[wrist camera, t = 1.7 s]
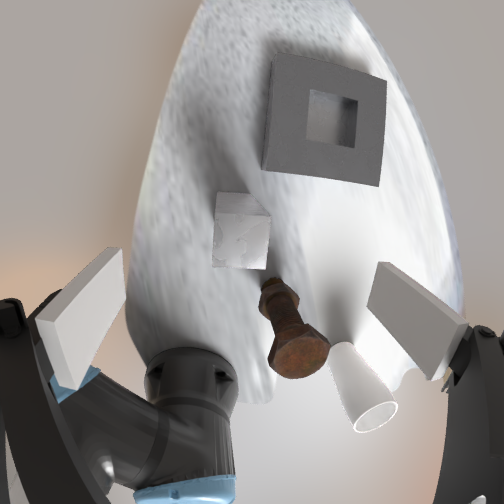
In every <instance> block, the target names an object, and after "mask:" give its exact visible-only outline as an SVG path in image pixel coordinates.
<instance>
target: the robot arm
mask: <svg viewBox="0 0 504 504" xmlns="http://www.w3.org/2000/svg"><path fill="white" fill-rule="evenodd" d="M125 300H126V292H125V282H124V271H123V257H122V248H113V247H108V248H106V249H105V250H104V251H103V252H102V253H101V254H100V255H99V256H98V257H97V258H95V259H94V260H93V261H92V262H91V263H90V264H89V265H88V266H87V267H86V268H84V270H82V271H81V272H80V273H79V274H78V275H77V276H76V277H75V278H74V279H73V280H72V281H71V282H70V283H69V284H68V285H67V286H66V287H65V288H64V289H60V290H58V291H56V292H54V293H52V294H50V295H49V296H48V297H47V298H46V299H45V300H44V302H42V303H41V304H40V305H39V307H37V308H36V309H35V310H34V311H33V312H32V313H31V314H30V315H29V317H28V318H27V319H26V316H25V312H24V309H23V305H22V303H21V301H20V300H18V299H15V298H8V299H3V300H0V504H111V503H110V502H109V500H108V498H107V497H106V496H107V495H108V493H109V491H110V489H111V486H112V484H113V483H114V482H115V483H118V484H121V485H123V486H125V487H128V488H131V489H133V490H134V491H135V492H134V493H133V497H134V499H135V502H136V503H137V504H232V503H233V501H234V500H235V480H236V476H235V468H234V459H233V450H232V441H231V432H230V421H229V420H230V417H231V414H232V411H233V408H234V406H235V403H236V400H237V397H238V379H237V375H236V373H235V371H234V369H233V368H232V366H231V365H230V364H229V363H228V362H227V361H226V360H224V359H223V358H221V357H220V356H218V355H216V354H214V353H212V352H209V351H206V350H202V349H197V348H174V349H170V350H167V351H164V352H162V353H160V354H158V355H157V356H156V357H154V358H153V359H152V360H151V362H150V363H149V365H148V367H147V371H146V374H145V379H144V386H145V392H146V398H147V401H146V400H145V399H143V398H141V397H139V396H138V395H136V394H134V393H133V392H131V391H129V390H128V389H126V388H125V387H123V386H121V385H120V384H118V383H117V382H115V381H114V380H112V379H111V378H109V377H107V376H106V375H105V374H103V373H102V372H100V371H101V370H100V369H99V368H95V367H93V366H91V365H90V363H91V362H92V360H93V358H94V356H95V354H96V352H97V350H98V349H99V347H100V345H101V343H102V341H103V339H104V337H105V336H106V334H107V332H108V330H109V328H110V326H111V325H112V323H113V321H114V319H115V318H116V316H117V314H118V312H119V311H120V309H121V307H122V305H123V304H124V302H125ZM367 308H368V309H369V310H370V311H371V312H372V313H373V314H374V315H375V317H376V318H377V319H378V320H379V321H380V322H381V323H382V324H383V326H384V327H385V328H386V329H387V330H388V331H389V332H390V334H391V335H392V336H393V337H394V338H395V339H396V341H397V342H398V343H399V344H400V345H401V346H402V348H403V349H404V350H405V351H406V352H407V353H408V355H409V356H410V357H411V358H412V359H413V361H414V362H415V363H416V364H417V365H418V367H419V368H420V369H421V370H422V371H423V373H424V374H425V375H426V376H427V378H428V379H429V380H430V381H434V380H436V379H440V378H442V377H443V376H444V374H445V372H446V370H447V368H448V366H449V367H450V368H451V369H452V372H451V374H450V376H449V378H448V379H447V381H446V383H445V384H444V386H443V388H442V391H441V392H443V391H444V389H445V388H448V390H447V392H446V393H448V394H449V396H448V415H447V427H446V438H445V446H444V452H443V459H442V465H441V470H440V476H439V481H438V485H437V489H436V494H435V498H434V502H433V504H504V331H503V333H502V335H501V337H497V336H496V334H495V332H494V331H492V330H491V329H489V328H488V327H485V326H480V325H477V326H475V327H474V328H472V327H470V326H469V322H468V321H467V320H465V319H464V318H463V317H462V316H460V315H459V314H458V313H457V312H455V311H454V310H453V309H452V308H450V307H449V306H448V305H447V304H445V303H444V302H443V301H441V300H440V299H439V298H438V297H436V296H435V295H434V294H432V293H431V292H430V291H428V290H427V289H426V288H424V287H423V286H422V285H420V284H419V283H418V282H416V281H415V280H414V279H412V278H411V277H409V276H408V275H407V274H405V273H404V272H402V271H401V270H400V269H398V268H397V267H395V266H394V265H393V264H391V263H390V262H378V265H377V269H376V273H375V277H374V281H373V285H372V289H371V292H370V296H369V300H368V303H367ZM5 430H6V433H7V438H8V442H9V446H10V449H11V453H12V457H13V460H14V463H15V467H16V470H17V471H16V474H15V476H14V479H13V482H12V485H11V487H10V490H8V481H7V470H6V452H5V451H6V449H5Z"/></svg>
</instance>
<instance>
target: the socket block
mask: <svg viewBox="0 0 504 504" xmlns="http://www.w3.org/2000/svg"><path fill="white" fill-rule="evenodd" d="M386 95H387V81H386V80H383V79H380V78H377V77H375V76H372V75H369V74H366V73H363V72H359V71H356V70H353V69H350V68H346V67H343V66H339V65H335V64H331V63H328V62H324V61H319V60H315V59H311V58H306V57H301V56H296V55H291V54H285V53H279V52H277V54H276V56H275V57H274V59H273V61H272V65H271V76H270V86H269V97H268V107H267V117H266V128H265V138H264V148H263V158H262V169H261V170H265V171H273V172H282V173H291V174H299V175H307V176H314V177H321V178H328V179H335V180H341V181H347V182H353V183H359V184H365V185H370V186H376V187H379V181H380V174H381V165H382V156H383V145H384V133H385V119H386Z"/></svg>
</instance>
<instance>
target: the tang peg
mask: <svg viewBox="0 0 504 504" xmlns="http://www.w3.org/2000/svg"><path fill="white" fill-rule="evenodd" d="M270 226H271V216H270V215H269V214H268V212H267V211H266V210H265V209H264V208H263V207H262V206H261V205H260V204H259V202H258V201H257V200H256V199H255V198H254V197H253V196H252V195H251V194H247V193H233V192H218V191H217V197H216V207H215V219H214V236H213V255H212V267H226V268H247V269H266V261H267V252H268V244H269V235H270Z"/></svg>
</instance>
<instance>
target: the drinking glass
mask: <svg viewBox="0 0 504 504" xmlns="http://www.w3.org/2000/svg"><path fill="white" fill-rule="evenodd" d="M326 363H327V365H328V367H329V369H330V372H331V375H332V377H333V380H334V383H335V386H336V389H337V391H338V394H339V397H340V400H341V403H342V406H343V408H344V411H345V413H346V415H347V417H348V419H349V421H350V423H351V425H352V426H353V428H354V430H355V431H356V432H360V433H361V432H362V433H363V432H369V431H372V430H374V429H377V428H379V427H380V426H382V425H384V424H385V423H386V422H388V421H389V420H390V419H391V418H392V417H393V416H394V414H395V413H396V411H397V409H398V403H397V402H396V400H395V398H394V396H393V395H392V393H391V391H390V390H389V388H388V387H387V386H386V384H385V383H384V382H383V380H382V379H381V378H380V377H379V376H378V375H377V373H376V372H375V371H374V370H373V369H372V368H371V366H370V365H369V364H368V363H367V362H366V361H365V359H364V358H363V357H362V356H361V355H360V353H359V352H358V351H357V349H356V348H355V347H354V345H353V344H351V343H349V342H340V343H337V344H335V345H334V346H332V347H331V348H330V351H329V355H328V358H327V360H326Z"/></svg>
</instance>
